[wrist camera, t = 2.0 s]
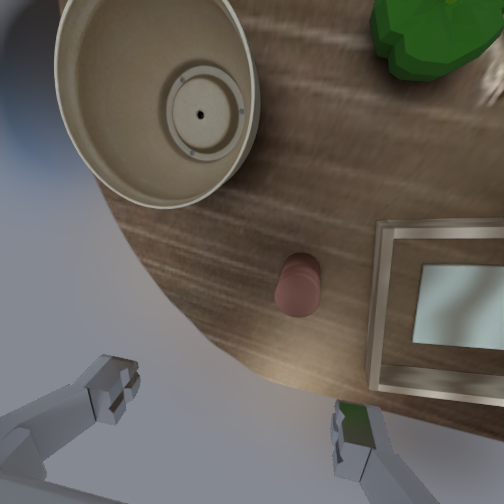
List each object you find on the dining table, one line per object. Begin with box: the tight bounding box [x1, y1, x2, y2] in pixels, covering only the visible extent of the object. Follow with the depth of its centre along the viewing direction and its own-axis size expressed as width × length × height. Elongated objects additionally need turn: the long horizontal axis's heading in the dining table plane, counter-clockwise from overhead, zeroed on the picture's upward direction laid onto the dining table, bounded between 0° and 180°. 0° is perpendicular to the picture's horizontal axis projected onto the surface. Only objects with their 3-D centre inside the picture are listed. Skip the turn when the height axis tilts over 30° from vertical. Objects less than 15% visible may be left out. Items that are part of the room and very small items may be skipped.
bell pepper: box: [370, 0, 504, 82], centre depth 18 cm, size 8×8×10 cm
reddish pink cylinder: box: [274, 253, 320, 317], centre depth 30 cm, size 4×4×7 cm
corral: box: [365, 217, 504, 407], centre depth 28 cm, size 20×20×4 cm
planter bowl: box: [54, 0, 261, 209], centre depth 24 cm, size 16×16×11 cm
